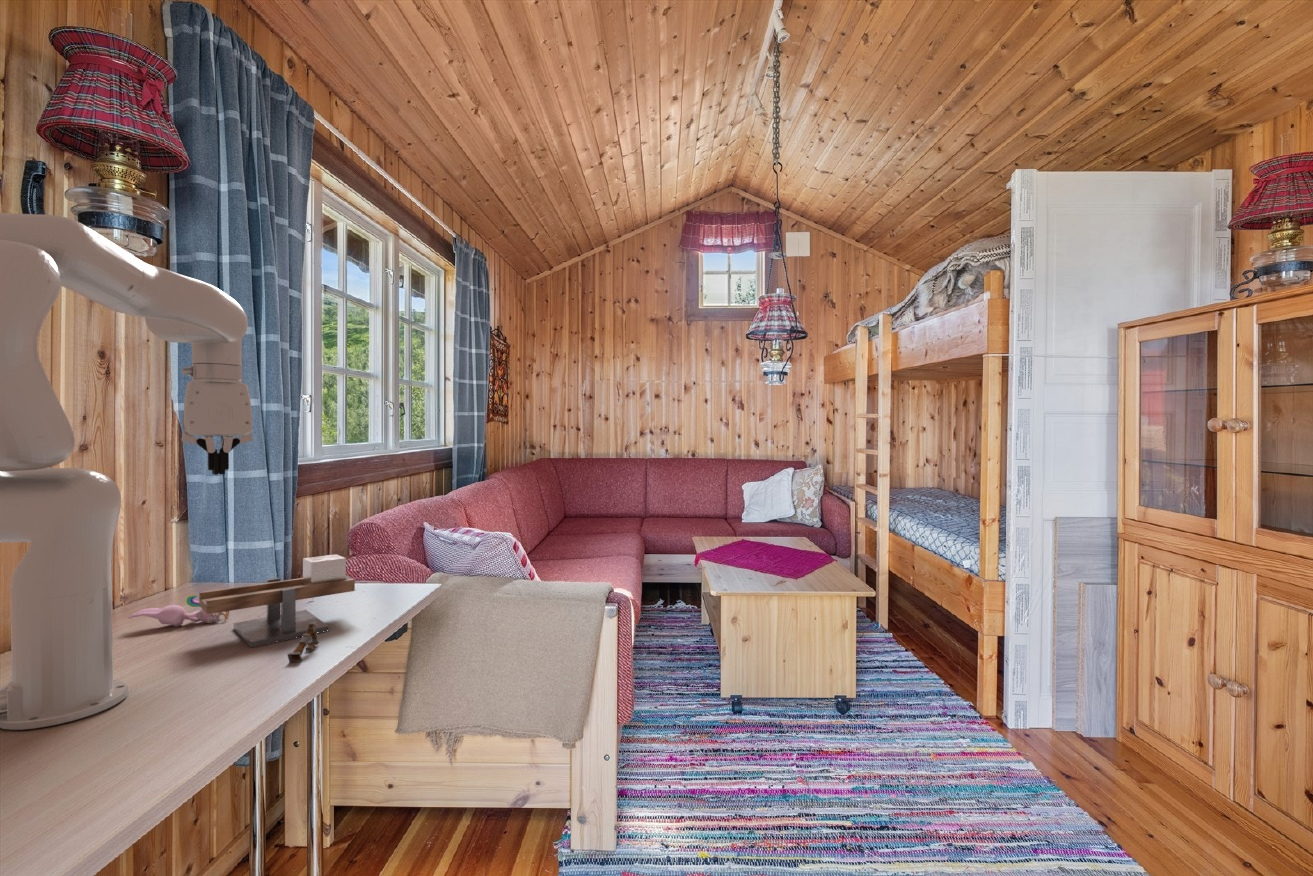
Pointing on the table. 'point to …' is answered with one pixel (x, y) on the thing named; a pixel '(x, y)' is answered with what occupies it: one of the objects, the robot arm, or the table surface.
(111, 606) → the robot arm
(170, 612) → the pink animal figure
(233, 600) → the balance beam
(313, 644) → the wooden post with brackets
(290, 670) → the table surface
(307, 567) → the white block
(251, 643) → the pivot stand
